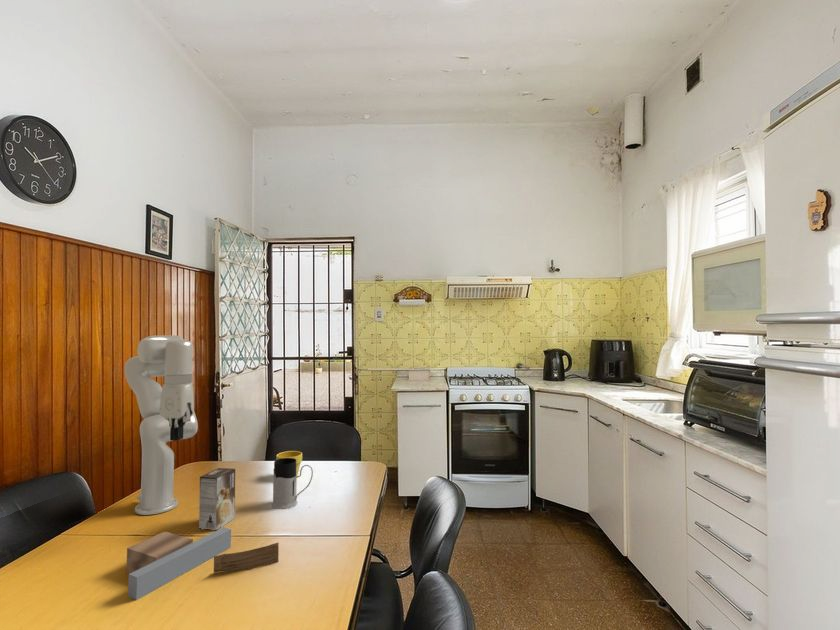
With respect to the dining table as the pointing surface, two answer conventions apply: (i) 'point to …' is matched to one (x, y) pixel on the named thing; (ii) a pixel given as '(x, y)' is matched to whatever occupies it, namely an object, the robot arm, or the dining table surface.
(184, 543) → the walnut block
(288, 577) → the dining table surface
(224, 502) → the coffee box
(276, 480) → the glass holder
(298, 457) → the plant pot
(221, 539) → the grey board
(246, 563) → the wood plank
